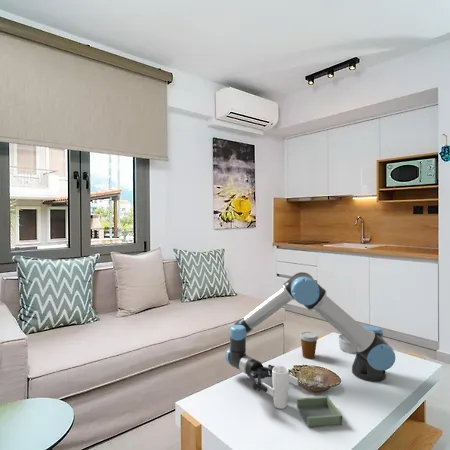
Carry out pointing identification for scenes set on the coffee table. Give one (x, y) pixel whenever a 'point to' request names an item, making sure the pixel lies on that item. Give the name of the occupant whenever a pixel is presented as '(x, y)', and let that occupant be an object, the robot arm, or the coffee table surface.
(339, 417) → the tray
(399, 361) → the coffee table surface
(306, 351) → the disposable coffee cup
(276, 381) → the drinking glass
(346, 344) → the ramekin
